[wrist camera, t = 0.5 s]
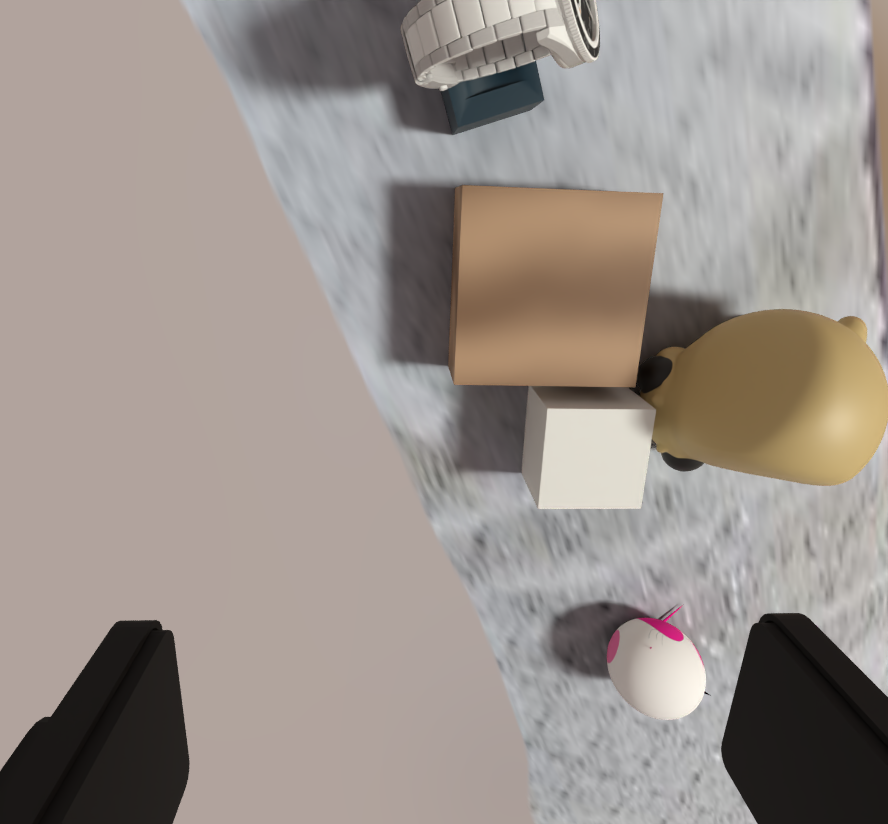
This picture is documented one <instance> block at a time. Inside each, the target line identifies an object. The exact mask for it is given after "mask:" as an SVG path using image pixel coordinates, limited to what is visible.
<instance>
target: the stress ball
mask: <svg viewBox="0 0 888 824" xmlns="http://www.w3.org/2000/svg"><path fill="white" fill-rule="evenodd" d="M683 605H684V604H683ZM683 605H682V606H683ZM682 606H681V607H682ZM681 607H680V608H681ZM678 609H679V608H678ZM678 609H677V610H678ZM677 610H676V611H677ZM676 611H674V612H673V613H672V614H671V615H669V616H668V617H667V618H665V619H664V620H663V621H662V620H658V619H654V618H637V619H633V620H630V621H628V622H626V623H624V624H623V625H621V626H620V627H619V628H618V629H617V630H616V631H615V633H614V634H613V636H612V638H611V639H610V642H609V645H608V650H607V666H608V671H609V674H610V677H611V680H612V682H613V684H614V686H615V687H616V689H617V691H618V692H619V693H620V695H621V696H622V697H623V698H624V700H625V701H626V702H627V703H628V704H630V705H631V706H632V707H633V708H635V709H636V710H637V711H639V712H641V713H643V714H645V715H647V716H649V717H652V718H656V719H661V720H674V719H679V718H682V717H684V716H686V715H688V714H689V713H691V712H692V711H693V710H694V709H695V708H696V707H697V706H698V705H699V703H700V701H701V700H702V697H703V695H704V693H705V694H708V693H706V692H705V686H706V674H705V668H704V664H703V661H702V659H701V656H700V654H699V652H698V651H697V649H696V647H695V646H694V644H693V643H692V642H691V641H690V639H689V638H688V637H687V636H686V635H685V634H684V633H682V632H681V631H680V630H679V629H677V628H676V627H674V626H673V625H671V624H669V623H667V622H666V621H667V620H668V619H669V618H670V617H671V616H672V615H673V614H674V613H675V612H676ZM708 695H709V694H708ZM710 696H711V695H710Z"/></svg>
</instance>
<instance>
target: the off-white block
mask: <svg viewBox="0 0 888 824" xmlns="http://www.w3.org/2000/svg"><path fill="white" fill-rule="evenodd" d="M655 415H656V409H655V408H654V407H652V406H651V405H650V404H649V403H647V402H646V401H645V400H643V399H642V398H641V397H640V396H638V395H637V394H636V393H635V392H633V391H632V390H631V389H629V388H628V387H579V386H529V387H528V399H527V411H526V423H525V435H524V448H523V460H522V472H521V473H522V475H523V477H524V479H525V482H526V484H527V486H528V488H529V490H530V492H531V495H532V497H533V499H534V501H535V503H536V505H537V508H538V509H636V508H641V504H642V498H643V491H644V485H645V479H646V472H647V466H648V460H649V453H650V447H651V440H652V434H653V428H654V421H655Z"/></svg>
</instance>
